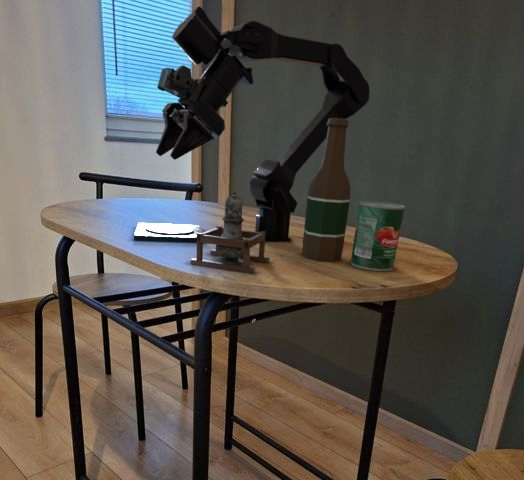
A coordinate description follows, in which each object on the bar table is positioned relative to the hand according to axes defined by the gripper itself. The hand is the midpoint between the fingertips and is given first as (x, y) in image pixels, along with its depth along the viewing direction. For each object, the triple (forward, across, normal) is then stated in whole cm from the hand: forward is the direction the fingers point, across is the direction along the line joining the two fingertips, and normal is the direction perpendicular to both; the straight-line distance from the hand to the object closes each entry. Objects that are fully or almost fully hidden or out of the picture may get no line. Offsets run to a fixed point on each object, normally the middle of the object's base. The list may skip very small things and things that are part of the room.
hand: (164, 156), depth 87 cm
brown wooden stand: (+9, +18, +14) cm, 25 cm away
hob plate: (+11, -6, +12) cm, 17 cm away
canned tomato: (-7, +25, +34) cm, 43 cm away
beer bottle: (-3, +17, +30) cm, 35 cm away
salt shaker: (+9, +18, +15) cm, 25 cm away
